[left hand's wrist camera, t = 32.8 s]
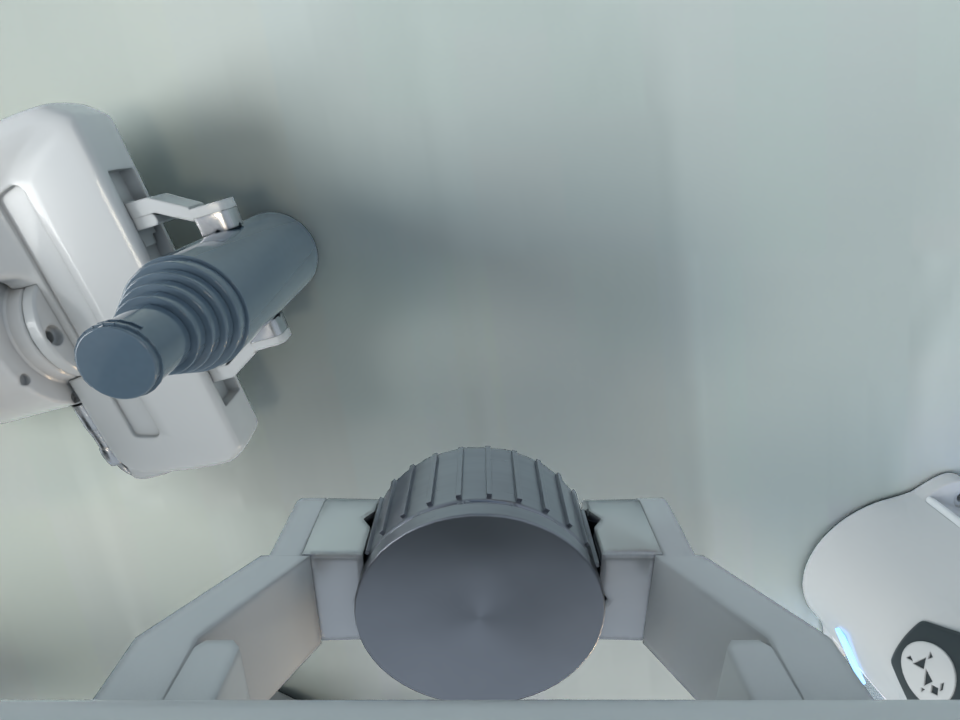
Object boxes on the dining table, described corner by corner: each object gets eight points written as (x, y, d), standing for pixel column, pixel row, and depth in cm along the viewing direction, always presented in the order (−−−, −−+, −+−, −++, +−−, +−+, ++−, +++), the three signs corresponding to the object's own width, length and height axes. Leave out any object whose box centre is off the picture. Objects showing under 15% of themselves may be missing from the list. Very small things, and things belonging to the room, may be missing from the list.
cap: (328, 545, 11) (298, 628, 9) (466, 399, 9) (464, 461, 8) (489, 647, 12) (491, 740, 10) (632, 525, 10) (663, 607, 9)
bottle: (283, 195, 35) (116, 261, 18) (334, 267, 36) (224, 387, 20) (217, 239, 36) (1, 340, 19) (270, 308, 37) (114, 454, 21)
